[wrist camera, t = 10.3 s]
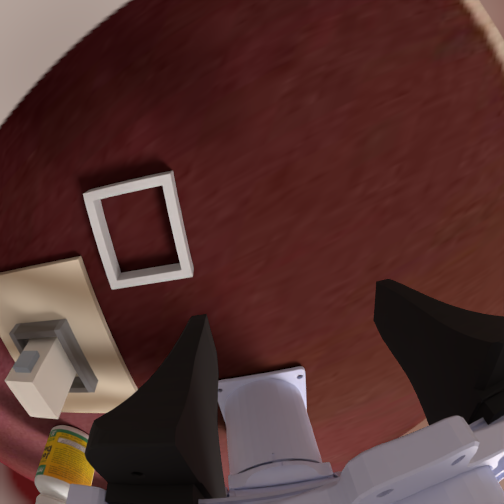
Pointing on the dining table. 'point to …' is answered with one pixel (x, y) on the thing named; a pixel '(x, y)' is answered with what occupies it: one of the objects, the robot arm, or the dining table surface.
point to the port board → (66, 330)
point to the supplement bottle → (62, 465)
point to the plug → (42, 377)
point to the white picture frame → (105, 243)
